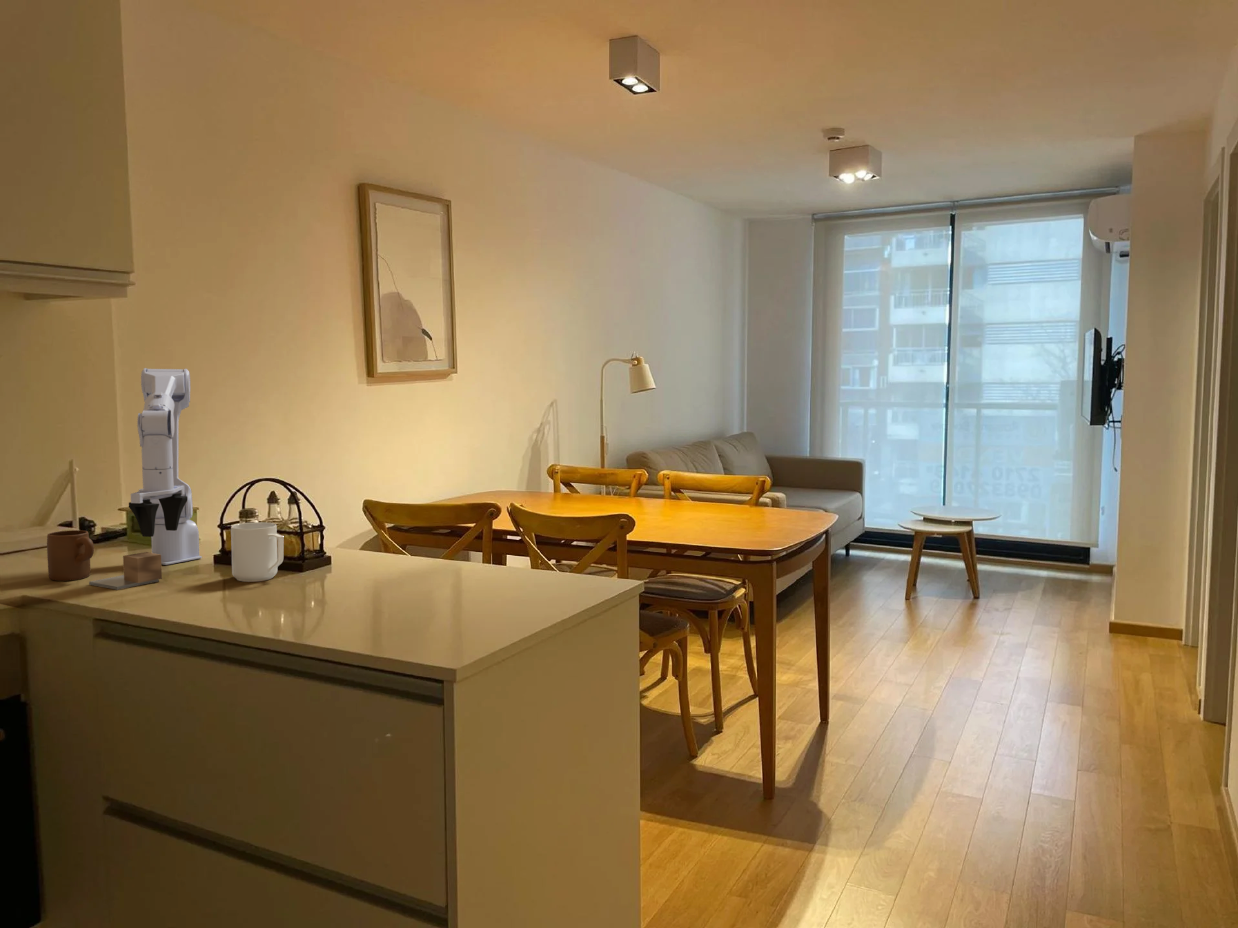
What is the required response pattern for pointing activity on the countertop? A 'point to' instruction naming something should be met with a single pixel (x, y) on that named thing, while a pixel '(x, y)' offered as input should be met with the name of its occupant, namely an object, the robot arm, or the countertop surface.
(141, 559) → the walnut block
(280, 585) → the countertop surface
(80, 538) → the mug
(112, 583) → the slate coaster
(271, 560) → the mug
